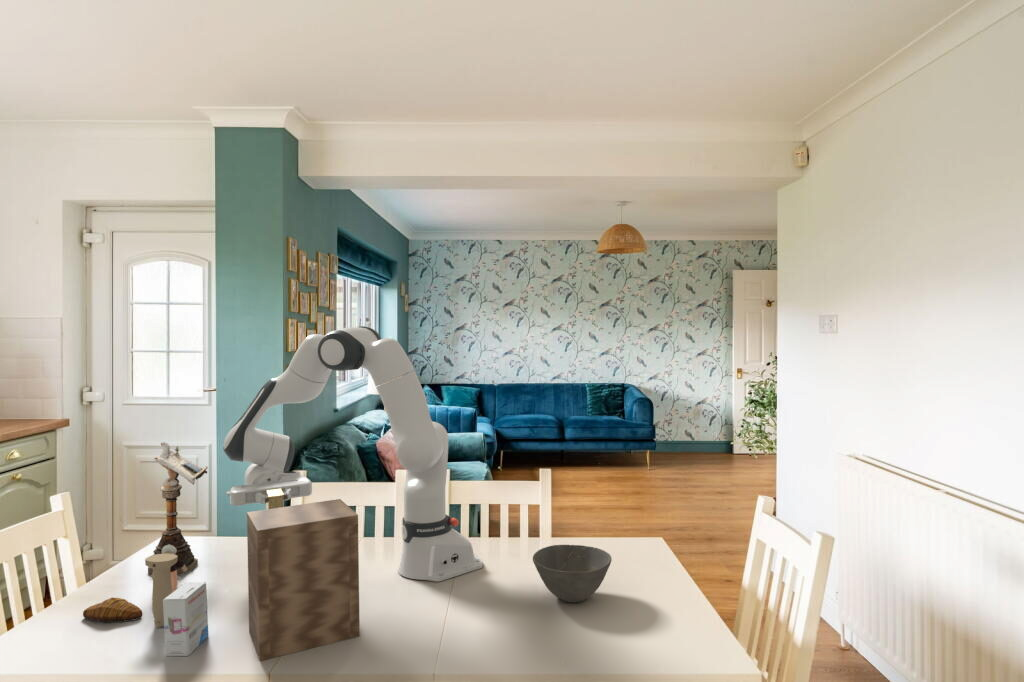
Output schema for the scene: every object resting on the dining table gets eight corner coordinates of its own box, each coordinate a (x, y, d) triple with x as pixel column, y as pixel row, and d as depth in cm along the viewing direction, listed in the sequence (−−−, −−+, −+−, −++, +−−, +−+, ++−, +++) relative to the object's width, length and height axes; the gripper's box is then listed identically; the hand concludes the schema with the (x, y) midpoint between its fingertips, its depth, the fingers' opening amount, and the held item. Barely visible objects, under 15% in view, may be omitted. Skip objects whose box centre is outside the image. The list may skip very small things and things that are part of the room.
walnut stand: (341, 610, 150) (340, 498, 150) (359, 636, 138) (358, 514, 137) (249, 631, 140) (246, 512, 140) (259, 661, 128) (257, 530, 127)
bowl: (620, 589, 162) (620, 549, 161) (597, 621, 145) (597, 576, 144) (550, 576, 170) (550, 538, 169) (520, 606, 152) (520, 563, 152)
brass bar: (280, 488, 169) (283, 494, 166) (278, 567, 174) (281, 574, 171) (266, 490, 167) (268, 496, 164) (264, 569, 172) (266, 577, 169)
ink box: (186, 635, 139) (184, 580, 138) (209, 636, 139) (208, 581, 138) (163, 656, 130) (162, 598, 130) (188, 656, 130) (186, 598, 130)
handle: (169, 630, 141) (167, 562, 140) (142, 629, 142) (140, 560, 141) (183, 620, 146) (181, 554, 145) (157, 618, 147) (155, 553, 146)
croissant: (72, 625, 144) (72, 603, 144) (94, 611, 151) (94, 590, 151) (131, 627, 143) (130, 605, 143) (150, 613, 150) (150, 592, 150)
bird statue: (223, 557, 185) (221, 434, 183) (207, 575, 172) (204, 443, 170) (161, 559, 183) (158, 435, 181) (140, 578, 170) (137, 444, 168)
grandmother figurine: (154, 603, 155) (153, 550, 154) (150, 598, 158) (149, 546, 157) (189, 594, 160) (188, 543, 159) (185, 589, 163) (183, 539, 162)
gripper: (225, 479, 172) (231, 491, 160) (304, 470, 182) (316, 481, 170) (225, 503, 172) (232, 517, 160) (305, 492, 182) (317, 505, 170)
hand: (276, 498), depth 165 cm, fingers closed on brass bar, 4 cm apart
